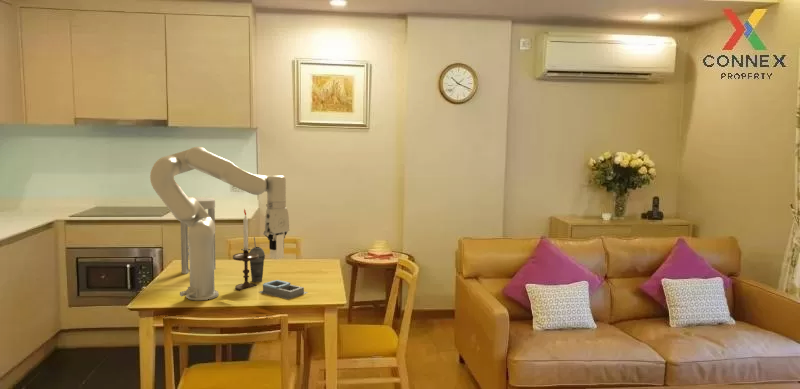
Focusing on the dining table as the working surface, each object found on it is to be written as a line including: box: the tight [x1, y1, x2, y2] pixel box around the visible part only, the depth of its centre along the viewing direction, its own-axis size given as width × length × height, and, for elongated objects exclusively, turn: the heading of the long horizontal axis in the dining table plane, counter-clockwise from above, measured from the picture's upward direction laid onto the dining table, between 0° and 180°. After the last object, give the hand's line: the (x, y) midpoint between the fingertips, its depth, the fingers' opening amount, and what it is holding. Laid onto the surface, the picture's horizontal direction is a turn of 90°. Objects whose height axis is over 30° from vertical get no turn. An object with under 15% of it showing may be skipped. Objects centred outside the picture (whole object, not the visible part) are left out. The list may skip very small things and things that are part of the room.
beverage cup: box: [248, 236, 266, 283], centre depth 259 cm, size 7×7×20 cm
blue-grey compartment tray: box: [259, 279, 309, 300], centre depth 239 cm, size 12×17×4 cm
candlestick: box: [232, 208, 259, 291], centre depth 246 cm, size 11×11×35 cm
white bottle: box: [269, 233, 285, 260], centre depth 239 cm, size 4×4×12 cm
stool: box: [179, 196, 217, 275], centre depth 272 cm, size 16×16×35 cm
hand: (276, 248), depth 239 cm, fingers closed on white bottle, 4 cm apart
